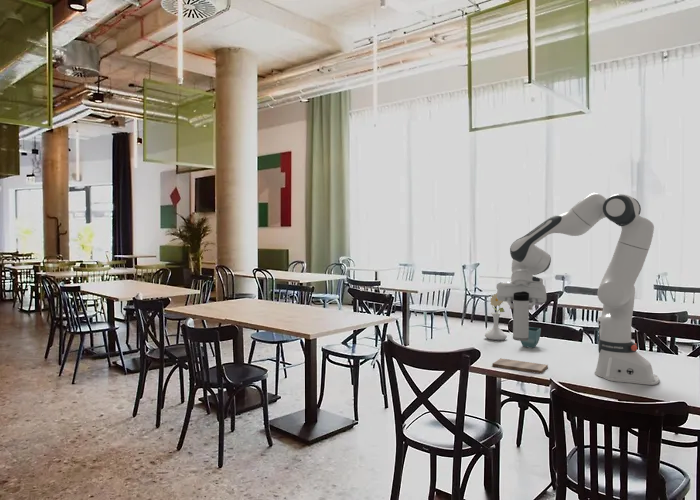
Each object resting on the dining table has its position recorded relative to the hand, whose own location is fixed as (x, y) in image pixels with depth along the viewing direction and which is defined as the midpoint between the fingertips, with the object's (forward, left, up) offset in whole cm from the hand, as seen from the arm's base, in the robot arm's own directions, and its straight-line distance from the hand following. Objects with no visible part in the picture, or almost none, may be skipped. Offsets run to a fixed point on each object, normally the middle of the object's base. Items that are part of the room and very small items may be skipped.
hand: (521, 308), depth 222 cm
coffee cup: (-25, -64, -25) cm, 73 cm away
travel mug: (0, -1, -13) cm, 13 cm away
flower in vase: (+26, -50, -25) cm, 61 cm away
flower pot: (+7, -43, -25) cm, 50 cm away
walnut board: (0, -1, -25) cm, 25 cm away
